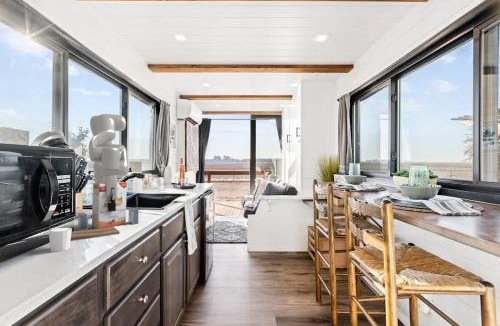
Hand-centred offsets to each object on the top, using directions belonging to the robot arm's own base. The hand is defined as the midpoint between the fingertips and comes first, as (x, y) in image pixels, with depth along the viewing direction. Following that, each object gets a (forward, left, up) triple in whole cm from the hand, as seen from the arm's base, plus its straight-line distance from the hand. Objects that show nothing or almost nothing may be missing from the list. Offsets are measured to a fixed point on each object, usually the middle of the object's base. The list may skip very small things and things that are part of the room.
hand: (109, 209), depth 133 cm
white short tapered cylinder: (+27, -22, -8) cm, 36 cm away
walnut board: (+12, -9, -8) cm, 17 cm away
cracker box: (0, 0, -8) cm, 8 cm away
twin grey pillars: (0, 0, -8) cm, 8 cm away
